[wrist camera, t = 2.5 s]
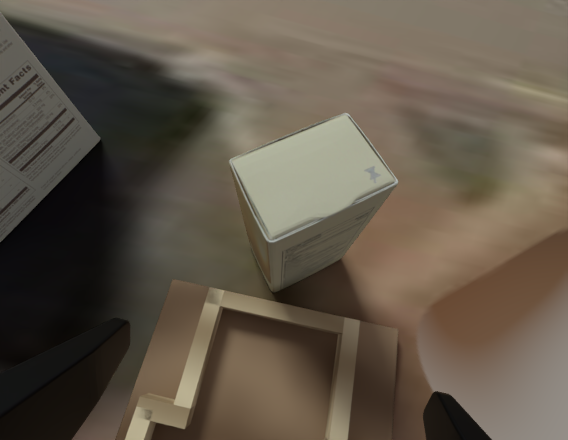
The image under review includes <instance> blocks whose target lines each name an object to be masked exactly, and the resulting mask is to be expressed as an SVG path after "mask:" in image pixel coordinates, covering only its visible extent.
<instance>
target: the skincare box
mask: <svg viewBox="0 0 568 440" xmlns="http://www.w3.org/2000/svg"><path fill="white" fill-rule="evenodd" d="M229 164H230V168H231V172H232V176H233V179H234V183H235V187H236V191H237V195H238V199H239V204H240V207H241V211H242V215H243V219H244V223H245V227H246V231H247V235H248V239H249V243H250V247H251V249H252V251H253V254H254V256H255V258H256V260H257V262H258V265H259V267H260V269H261V271H262V273H263V276H264V278H265V280H266V282H267V284H268V286H269V288H270V290H271V291H272V292H274V293H275V292H277V291H280V290H282V289H284V288H286V287H288V286H290V285H292V284H294V283H296V282H298V281H300V280H302V279H304V278H306V277H308V276H310V275H312V274H314V273H316V272H318V271H320V270H322V269H324V268H325V267H327V266H329V265H331V264H333V263H334V262H336V261H338V260H340V259H341V258H342V257H343V256H344V254H345V253H346V252H347V250H348V249H349V248H350V246H351V245H352V244H353V242H354V241H355V240H356V239H357V237H358V236H359V234H360V233H361V232H362V230H363V229H364V228H365V227H366V225H367V224H368V223H369V221H370V220H371V219H372V217H373V216H374V215H375V213H376V212H377V211H378V209H379V208H380V207H381V205H382V204H383V203H384V201H385V200H386V199H387V198H388V196H389V195H390V193H391V192H392V191H393V189H394V188H395V187H396V186H397V184H398V180H397V179H396V177H395V176H394V174H393V173H392V172H391V171H390V169H389V168H388V166H387V164H386V163H385V162H384V160H383V159H382V158H381V156H380V155H379V153H378V152H377V151H376V149H375V148H374V146H373V145H372V144H371V142H370V141H369V139H368V138H367V137H366V135H365V134H364V133H363V131H362V130H361V129H360V128H359V126H358V125H357V124H356V123H355V122H354V120H353V119H352V118H351V116H350V115H349V114H348V113H344V114H341V115H338V116H335V117H332V118H329V119H327V120H323V121H321V122H318V123H316V124H313V125H310V126H308V127H305V128H303V129H300V130H298V131H295V132H293V133H290V134H288V135H286V136H283V137H281V138H278V139H276V140H274V141H271V142H269V143H267V144H264V145H262V146H259V147H257V148H255V149H253V150H250V151H248V152H246V153H244V154H241V155H239V156H237V157H234V158H232V159H230V161H229Z"/></svg>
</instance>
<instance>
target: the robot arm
mask: <svg viewBox="0 0 568 440" xmlns="http://www.w3.org/2000/svg"><path fill="white" fill-rule="evenodd" d="M129 345H130V323H129V321H127V320H124V319H119V318H114V319H111V320H109V321H107V322H105V323H103V324H101V325H99V326H97V327H95V328H93V329H91V330H88V331H86V332H84V333H82V334H80V335H78V336H76V337H74V338H72V339H70V340H68V341H66V342H64V343H62V344H60V345H58V346H55V347H53V348H51V349H49V350H47V351H45V352H43V353H41V354H39V355H37V356H35V357H33V358H31V359H29V360H27V361H24V362H22V363H20V364H18V365H16V366H14V367H12V368H10V369H8V370H6V371H4V372H2V373H0V440H72V438H73V437H74V435H75V434H76V433H77V431H78V430H79V428H80V427H81V425H82V424H83V423H84V421H85V420H86V418H87V417H88V415H89V414H90V413H91V411H92V410H93V408H94V407H95V405H96V404H97V402H98V401H99V399H100V397H101V396H102V394H103V392H104V391H105V389H106V387H107V385H108V384H109V382H110V380H111V378H112V377H113V375H114V373H115V371H116V370H117V368H118V366H119V364H120V363H121V361H122V359H123V357H124V355H125V354H126V352H127V350H128V348H129ZM423 420H424V427H425V434H426V440H492V439H491V438H490V437H489V436H488V435H487V434H486V433H485V432H484V431H483V430H482V429H481V427H480V426H479V425H478V424H477V423H476V422H475V421H474V420H473V419H472V418H471V416H470V415H469V414H468V413H467V412H466V411H465V410H464V409H463V408H462V407H461V406H460V404H459V403H458V402H457V401H456V400H455V399H454V398H453V397H452V396H451V395H449V394H446V393H442V392H438V391H437V392H434V393H433V394H432V396H431V398H430V399H429V401H428V403H427V405H426V407H425V409H424V413H423Z"/></svg>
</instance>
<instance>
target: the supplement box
mask: <svg viewBox="0 0 568 440" xmlns="http://www.w3.org/2000/svg"><path fill="white" fill-rule="evenodd" d="M99 141H100V137H99V136H98V135H97V134H96V132H95V131H94V130H93V129H92V127H91V126H90V125H89V124H88V122H87V121H86V120H85V119H84V117H83V116H82V115H81V114H80V112H79V111H78V110H77V109H76V107H75V106H74V105H73V104H72V102H71V101H70V100H69V99H68V97H67V96H66V95H65V94H64V92H63V91H62V90H61V89H60V87H59V86H58V85H57V83H56V82H55V81H54V80H53V78H52V77H51V76H50V75H49V73H48V72H47V71H46V69H45V68H44V67H43V66H42V64H41V63H40V62H39V61H38V59H37V58H36V57H35V55H34V54H33V53H32V52H31V50H30V49H29V48H28V47H27V45H26V44H25V43H24V42H23V40H22V39H21V38H20V37H19V35H18V34H17V33H16V32H15V30H14V29H13V28H12V26H11V25H10V24H9V23H8V21H7V20H6V19H5V17H4V16H3V15H2V14H1V12H0V242H1V241H2V240H3V239H4V238H5V237H6V236H7V235H8V234H9V233H10V232H11V231H12V230H13V229H14V228H15V227H16V226H17V225H18V224H19V223H20V222H21V221H22V220H23V219H24V218H25V217H26V216H27V215H28V214H29V213H30V212H31V211H32V210H33V209H34V208H35V207H36V206H37V205H38V203H39V202H40V201H41V200H42V199H43V198H44V197H45V196H46V195H47V194H48V193H49V192H50V191H51V190H52V189H53V188H54V187H55V186H56V185H57V184H58V183H59V182H60V181H61V180H62V179H63V178H64V177H65V176H66V175H67V174H68V173H69V172H70V171H71V170H72V169H73V168H74V167H75V166H76V165H77V164H78V163H79V162H80V161H81V160H82V159H83V157H84V156H85V155H86V154H87V153H88V152H89V151H90V150H91V149H92V148H93V147H94V146H95V145H96V144H97V143H98V142H99Z"/></svg>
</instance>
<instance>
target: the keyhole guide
mask: <svg viewBox="0 0 568 440" xmlns="http://www.w3.org/2000/svg"><path fill="white" fill-rule="evenodd" d="M397 342H398V329H395V328H391V327H386V326H382V325H377V324H373V323H368V322H364V321H359V320H355V319H350V318H346V317H341V316H337V315H332V314H328V313H323V312H319V311H314V310H310V309H305V308H301V307H296V306H292V305H287V304H283V303H278V302H274V301H269V300H265V299H260V298H256V297H251V296H247V295H242V294H238V293H233V292H229V291H224V290H220V289H215V288H211V287H206V286H202V285H197V284H193V283H188V282H184V281H179V280H175V279H173V280H172V283H171V285H170V288H169V291H168V294H167V297H166V299H165V302H164V305H163V308H162V311H161V313H160V316H159V319H158V322H157V325H156V327H155V330H154V333H153V336H152V338H151V341H150V344H149V347H148V350H147V352H146V355H145V358H144V361H143V364H142V366H141V369H140V372H139V375H138V378H137V380H136V383H135V386H134V389H133V392H132V394H131V397H130V400H129V403H128V406H127V408H126V411H125V414H124V417H123V419H122V422H121V425H120V428H119V431H118V433H117V436H116V439H115V440H392V429H393V412H394V394H395V377H396V359H397Z"/></svg>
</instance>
